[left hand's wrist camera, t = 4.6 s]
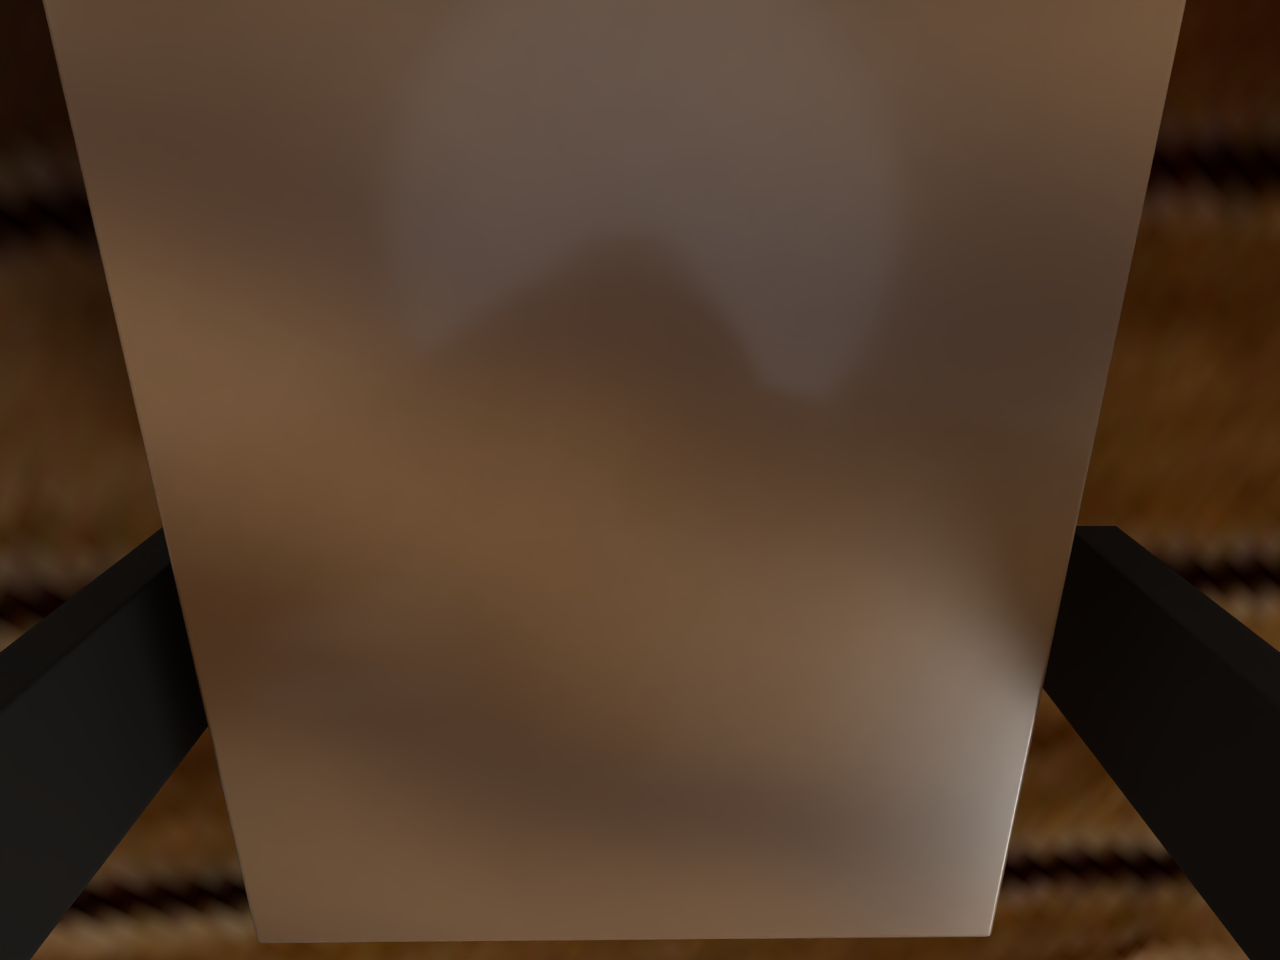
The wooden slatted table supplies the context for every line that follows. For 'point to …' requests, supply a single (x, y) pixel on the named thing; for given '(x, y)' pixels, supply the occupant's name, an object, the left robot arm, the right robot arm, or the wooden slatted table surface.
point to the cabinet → (618, 435)
